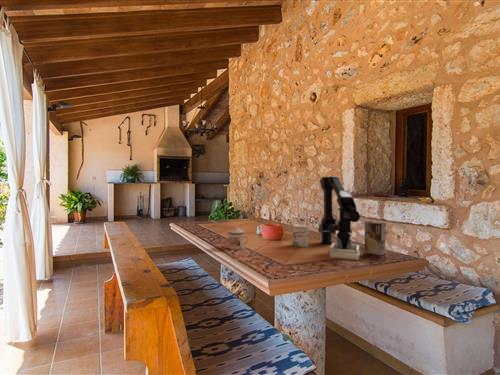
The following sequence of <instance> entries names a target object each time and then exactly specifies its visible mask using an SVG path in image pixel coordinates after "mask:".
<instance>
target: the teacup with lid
mask: <svg viewBox="0 0 500 375" xmlns="http://www.w3.org/2000/svg"><path fill="white" fill-rule="evenodd" d="M227 238H228V239H227V245H228V246H227V248H228V249H230V250H242V249H244V247H245V245H247V244H249V241H250V237H249V236H248V235H247V234H245V230H242V229H240V228H239V226H234V228H231V230H228V232H227ZM245 238H247V240H246V242H245Z"/></svg>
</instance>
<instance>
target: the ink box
mask: <svg viewBox="0 0 500 375" xmlns="http://www.w3.org/2000/svg"><path fill="white" fill-rule="evenodd" d="M308 245H309V225H308V224H293V225H292V247H304V248H307V247H309V246H308Z"/></svg>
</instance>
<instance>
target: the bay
mask: <svg viewBox="0 0 500 375" xmlns="http://www.w3.org/2000/svg"><path fill="white" fill-rule="evenodd" d="M332 248H337V242H332V244H330V247H329V252H330V251H331V249H332ZM355 249H356V250H360V244H353V243H352V250H355Z"/></svg>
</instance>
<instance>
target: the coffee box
mask: <svg viewBox="0 0 500 375" xmlns="http://www.w3.org/2000/svg"><path fill="white" fill-rule="evenodd" d="M386 225H387V224H386V222H377V221H365V222H364V254H370V253H371V254H372V255H378V256H383V255H385V254H386V233H387V232H386V230H387V229H386V227H387V226H386Z"/></svg>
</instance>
